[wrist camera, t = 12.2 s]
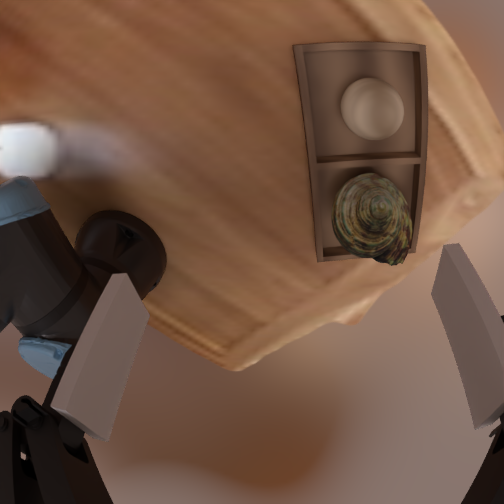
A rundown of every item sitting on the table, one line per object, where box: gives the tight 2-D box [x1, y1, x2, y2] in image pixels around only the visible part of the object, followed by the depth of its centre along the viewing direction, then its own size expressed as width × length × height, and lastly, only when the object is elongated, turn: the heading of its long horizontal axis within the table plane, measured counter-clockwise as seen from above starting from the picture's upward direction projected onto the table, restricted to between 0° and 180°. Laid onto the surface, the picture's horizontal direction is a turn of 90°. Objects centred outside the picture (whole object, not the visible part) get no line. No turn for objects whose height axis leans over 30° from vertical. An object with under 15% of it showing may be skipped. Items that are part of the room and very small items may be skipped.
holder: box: [292, 42, 428, 262], centre depth 34 cm, size 14×27×3 cm, turn 10°
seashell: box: [331, 173, 412, 266], centre depth 35 cm, size 11×11×10 cm
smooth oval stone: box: [341, 78, 404, 140], centre depth 28 cm, size 7×7×7 cm
